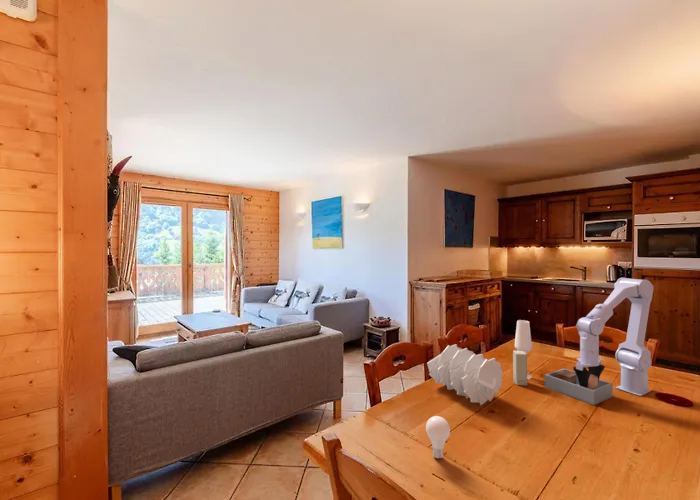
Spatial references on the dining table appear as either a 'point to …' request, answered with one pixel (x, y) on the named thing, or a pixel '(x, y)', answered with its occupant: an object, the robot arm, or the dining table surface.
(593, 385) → the peach capsule
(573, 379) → the walnut cube
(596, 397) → the tote
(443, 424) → the lightbulb
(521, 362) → the box
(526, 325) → the champagne flute
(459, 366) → the spiral staircase
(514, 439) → the dining table surface
